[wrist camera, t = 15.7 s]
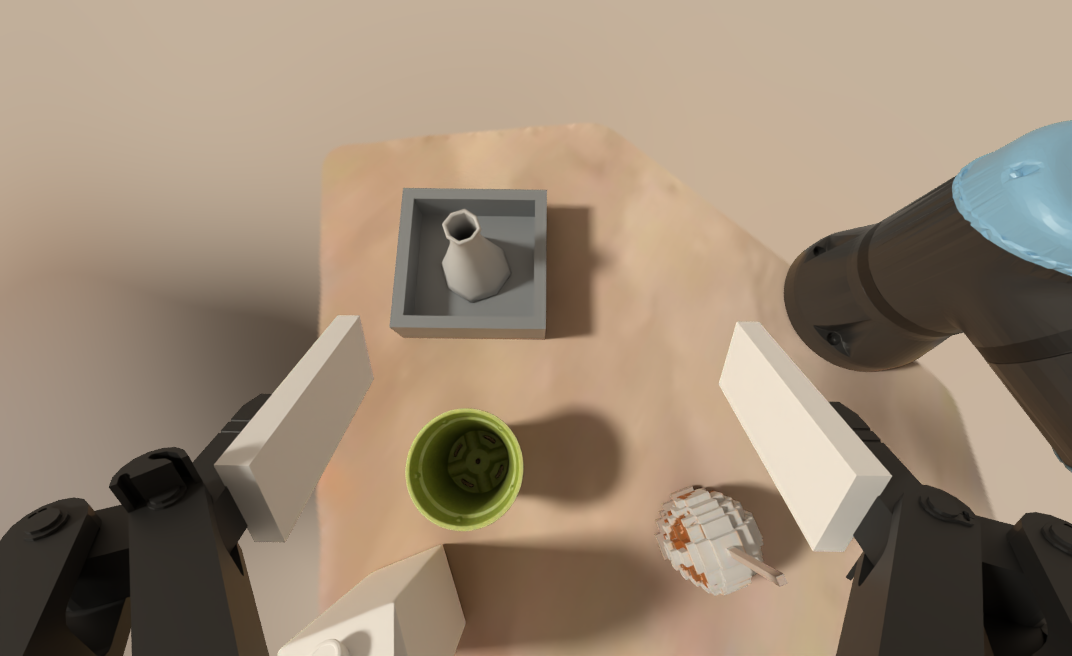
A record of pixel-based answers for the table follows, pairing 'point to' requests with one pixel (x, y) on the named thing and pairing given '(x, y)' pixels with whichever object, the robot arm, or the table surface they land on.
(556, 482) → the table surface
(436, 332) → the open box
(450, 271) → the flask
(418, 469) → the plant pot
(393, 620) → the milk carton
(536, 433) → the table surface
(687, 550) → the decorative ornament
